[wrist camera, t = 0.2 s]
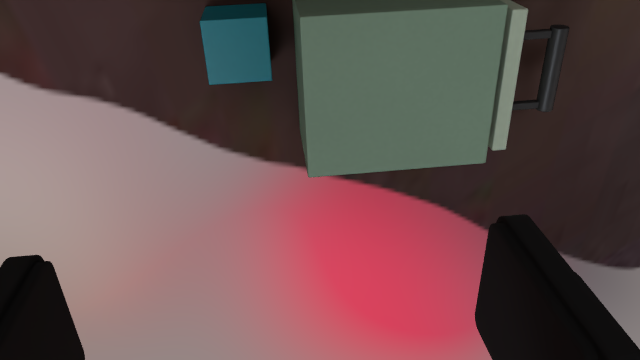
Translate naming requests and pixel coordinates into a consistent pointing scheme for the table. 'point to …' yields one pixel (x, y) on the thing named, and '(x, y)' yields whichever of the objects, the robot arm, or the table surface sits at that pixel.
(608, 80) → the table surface
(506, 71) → the drawer
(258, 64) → the cube
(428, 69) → the cabinet
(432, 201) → the table surface
